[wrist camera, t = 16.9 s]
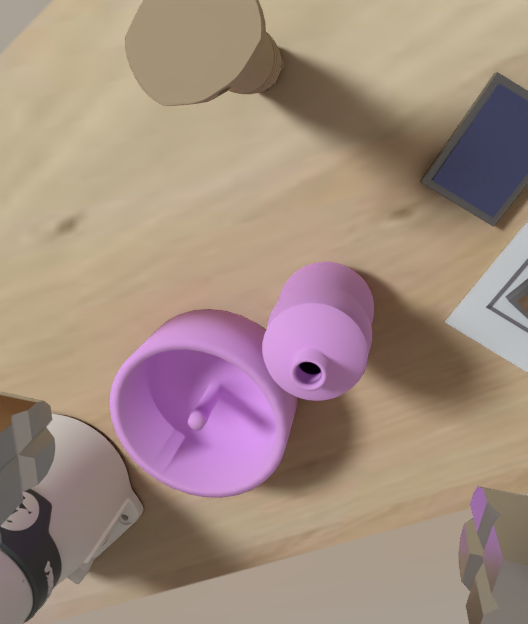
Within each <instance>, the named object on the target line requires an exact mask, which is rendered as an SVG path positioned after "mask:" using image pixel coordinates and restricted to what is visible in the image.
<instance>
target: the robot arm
mask: <svg viewBox="0 0 528 624" xmlns="http://www.w3.org/2000/svg"><path fill="white" fill-rule="evenodd" d="M470 506H471V510H472V514H473V518H472V519H471V520H469V521H467V522H466V523H465V524H464V526H463V530H462V533H461V537H460V545H459V569H460V576H461V581H462V582H463V584H464V585H465V586H466V587H467V588H468V590H469V591H470V594H469V598H468V600H467V603H466V610H467V615H468V620H469V624H528V496H526V495H521V494H516V493H511V492H506V491H500V490H495V489H490V488H485V487H479V486H478V487H477V489H476V490H475V492H474V494H473V497H472V500H471V503H470ZM142 513H143V506H142V504H141V502H140V500H139V499H138V497H137V496H136V494H135V493H134V492H133V490H132V488H131V485H130V481H129V477H128V473H127V469H126V467H125V464H124V462H123V460H122V458H121V457H120V455H119V454H118V452H117V451H116V449H115V448H114V447H113V446H112V445H111V443H110V442H109V441H108V440H107V439H106V438H105V437H103V436H102V435H101V434H100V433H99V432H97V431H96V430H95V429H93V428H92V427H90V426H88V425H86V424H85V423H83V422H81V421H78V420H76V419H73V418H70V417H67V416H63V415H57V414H51V408H50V405H49V404H47V403H46V402H45V401H42V400H37V399H33V398H28V397H24V396H19V395H15V394H10V393H6V392H0V624H23V623H25V622H27V621H28V620H30V619H31V618H32V617H33V616H34V614H35V613H36V612H37V611H38V610H39V609H40V608H41V607H42V606H43V605H44V603H45V602H46V600H47V599H48V598H49V596H50V594H51V592H52V590H53V588H54V587H55V586H57V585H58V584H59V583H60V582H62V581H63V580H64V579H65V578H67V577H68V578H69V579H70V580H71V581H73V582H74V583H75V584H79V583H80V582H81V581H82V580H83V578H84V577H85V576H86V574H87V573H88V571H89V570H90V568H91V566H92V565H91V564H92V563H93V561H94V560H95V559H96V558H97V557H98V556H99V555H100V554H101V553H102V552H103V551H104V550H105V549H106V548H108V547H109V546H110V545H111V544H112V543H113V542H114V541H115V540H116V539H117V538H118V537H120V536H121V535H122V534H123V533H124V532H125V531H126V530H127V529H128V528H129V527H130V526H131V525H133V524H134V523H135V522H136V521H137V520H138V519H139V517H140V516H141V515H142Z"/></svg>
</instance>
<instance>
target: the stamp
mask: <svg viewBox="0 0 528 624" xmlns="http://www.w3.org/2000/svg"><path fill="white" fill-rule="evenodd" d="M505 297H506V298H507V300H508V301H509V302H510V303H511V304H512V305H513V306H514V307H515V308H516V309H517V310H518V311H519V312H521V313H522V314H523V315H524V316H525V317H526V318H527V319H528V279H526V280H525V281H524V282H523V283H521V284H520V285H519V286H518V287H516V288H515V289H514V290H513V291H512V292H510V293H509V294H508V295H507V296H505Z"/></svg>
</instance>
